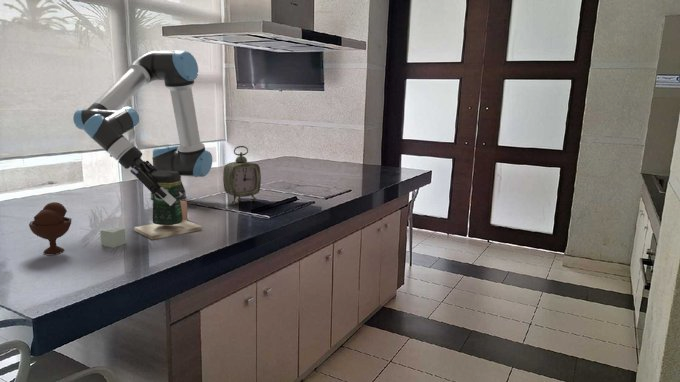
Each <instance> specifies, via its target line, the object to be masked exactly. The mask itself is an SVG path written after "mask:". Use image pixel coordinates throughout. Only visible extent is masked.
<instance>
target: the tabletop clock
mask: <svg viewBox="0 0 680 382" xmlns="http://www.w3.org/2000/svg"><path fill="white" fill-rule="evenodd" d="M240 148H245V149H246V152H244V153H243V152H241V151H240V153H236V150H237V149H240ZM248 153H249V149H248V147H247V146H245V145H239V146H236V147H234V150H233V154H234V155H235V156H237V157H236V158H235V161H232V162H228V163H225V165H224V167H223V175H222V176H223V178H222V179H223V180H222V181H223V188H224V189H223V190H224V193H226V194H228V195H231V196H233V200H232V201H231V204H232V205H233V206H234V205H236V203H237V202H236V201H238V202H241V201H242V198H243V197H245V198H246V197H250V196H251V197H252V198H253V199H252V200H253V202H258V198H257V197H255V196H254V195H257V194H259V193H260V190H261V184H262V182H261V181H262V178H261V175H262V173H261V168H260V166H259V165H260V164H257V163H254V162H249V161H248V159H247V157H246V156H245V155H247V154H248ZM236 198H237V200H236Z"/></svg>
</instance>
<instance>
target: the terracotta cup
mask: <svg viewBox="0 0 680 382" xmlns="http://www.w3.org/2000/svg"><path fill="white" fill-rule="evenodd" d="M187 202H188V201H186V200H185V201H184V200H182V199H180V203H181V209H182V216H183V219H185V220H187V221H189V219H188V203H187Z"/></svg>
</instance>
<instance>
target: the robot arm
mask: <svg viewBox="0 0 680 382" xmlns="http://www.w3.org/2000/svg"><path fill="white" fill-rule="evenodd" d="M198 73H199V66H198V62H197V60H196V58H195V57H194V55H193V54H192V53H191V52H189V51H186V50H174V49H173V50H172V49H171V50H152V51H150V52H147V53H145V54H143V55H141V56H140V57H138V58H137V59H135V60H134V61H132V63H130V65H128V66H127V71H126V72H125V73H124V74H123V75H122V76H121V77H120V78H119V79H118V80H116V81H115V82H114V83H113V84H112V86H110V87H109V88H108V89H107V90H106V91H105V92H104V93H103V94H102V95H101V96H100V97H98V98H97V99H96V100H95V101H94V102H93V103H92V104H91V105H90V106H89V107H87V108H80V109H76V111H74V114H73V118H72V119H73V123H74V125H75V127H76V128H77V129H79V130H83V131H84V133H86V134H87V135H88V136H89V138H90V139H92V140H93V141H94V142H95V143H96V144H98V145H99V147H100V148H102V149H103V150H105V152H107V153H108V154H109V157H110V158H113V159H114V160H116V161H118V163H119V165H121V166H122V167H123V168H124V169H126V170H128V169H129V168H132V169H130V170H129V171H130V173H131V174H132V175H134V176H135V177H136V178H137V179H138V180H139V182H141V183H142V184H143V185H144V187H146V189H148V191H149V192H150V199H151V200H153V194H154V193H155V192H156V193H157V194H158V195H159V196H160V197H161V198H162V199H163V200H164V201H165V202H167V203H168V204H169V205H170V206H171V205H172V204H173V203H174V202H175V201H176V199H175V198H174V197H173V196H172V195H170V194H169V193H168V192H167V191H166V190H165V189H164V188H163V187H161V188H160V186H159V185H158V183H157V182H156V181H155V180H154V178H153V177H152V176H151V173H152V172H154V171H158V170H167V171H178V172H179V174H180V179H181V184H180V187H179V194H180V200H182V199H184V198H186V197H187V193H186V189H185V186H184V183H183V182H182V181H183V180H182V176H183V177H193V178H204V177H206V176H208V174H209V173H210V171H211V168H212V166H213V155H212V153H211V152H210V151H209V150H206V145H205V144H204V143H203V142H201V138H200V137H201V136H200V131H199V126H198V120H197V115H196V114H197V113H196V107H195V102H194V94H193V89H192V87H193V86H194V85H195V80H196V79H197V78H198V76H199V74H198ZM154 81H164V86H165V87H166V88H167V89H168V90H169V91H170V96H171V103H172V109H173V114H174V118H175V123H176V124H175V125H176V129H177V136H178V140H179V145H168V146H163V147H162V146H161V147H155V148H154V149H153V150H152V157H151V159H152V163H151V162H150V161H149V160H143V159H142V158H141V157H142V156H143V153H142V151H141V150H139V149H138V147H137V146H134V144H133V143H132V142H131V141H130V140H129V139H128V138H127V137H125V136H124V135H125V134H126V133H127V132H130V130H133V129H134V128H135V127H136V126H137V125H138V124H139V123H140V116H139V114H138V113H139V112H138V111H136V110H135V109H134V108H133V107H131V106H124V105H125V104H126V103H127V102H128V101H129V100H130V99H131V98H132V97H133V96H134V95H135V94H136V93H137V92H138V91H139V90H140V89H142V87H143V86H147V85H149V84H150V83H151V82H154ZM123 106H124V107H123Z"/></svg>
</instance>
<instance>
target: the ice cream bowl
mask: <svg viewBox="0 0 680 382" xmlns="http://www.w3.org/2000/svg"><path fill="white" fill-rule="evenodd" d="M67 212H68V211H67V208H66V207H65V206H64V205H63V204H62V203H60V202H55V201H54V202H53V201H52V202H49V203H47V204H45V206H44V207H43V209H41V210H39V212H38V213H37V214H36V215H34V216H33V220H32V221H30V222H29V223H28V227H29V229H30V231H31V232H32V233H33V234H34V235H36V236H37V237H39V238H41V239H43V240H48V242H49V247H47V248H46V249H44V250H43V253H45V254H54V255H57V254H56V253H59V254H61V253H60V252H62V253H64V252H65V249H64V247H60V246H57V239H59V238H61V237H63V236H64V235H66V233H68V231H69V229H70V228H71V224H72V218H71V217H67V216H66V214H67ZM63 251H64V252H63ZM43 253H42V254H43ZM45 254H44V255H45Z"/></svg>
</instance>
